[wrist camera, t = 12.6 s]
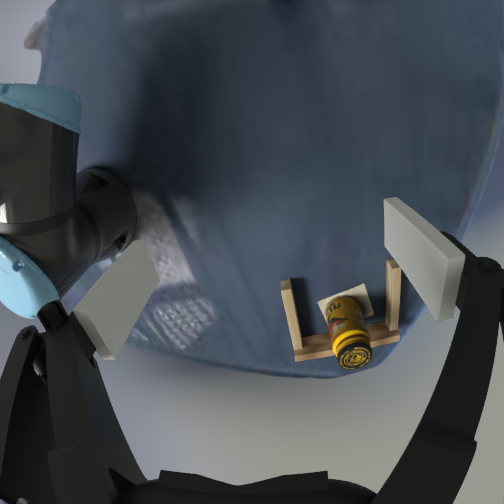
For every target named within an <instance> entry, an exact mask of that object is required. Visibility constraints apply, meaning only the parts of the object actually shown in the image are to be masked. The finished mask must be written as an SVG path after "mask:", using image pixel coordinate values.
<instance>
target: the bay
mask: <svg viewBox="0 0 504 504" xmlns="http://www.w3.org/2000/svg"><path fill="white" fill-rule="evenodd" d="M400 286H401V268H400V266H399V265H398V263H397V262H396V261H395V259H394V258H392V259H388V260H386V318H385V321H382V322H377V323H373V324H368V325H366V326H367V329H368V332H369V334H370V338H371V342H370V345H371V347H376V346H380V345H384V344H388V343H392V342H396V341H399V340H400V334H399V331H398V318H399V305H400ZM281 293H282V298H283V302H284V307H285V311H286V315H287V320H288V324H289V329H290V333H291V338H292V342H293V347H294V356H295V361H296V362H297V361H303V360H310V359H316V358H321V357H327V356H333V355H336V354H335V353H334V352H333V348H332V345H331V339H330V335H329V333H324V334H318V335H312V336H306V337H301V332H300V326H299V321H298V316H297V311H296V306H295V301H294V296H293V291H292V286H291V281H290V278H289V279H284V280H281Z"/></svg>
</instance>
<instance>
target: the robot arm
mask: <svg viewBox="0 0 504 504" xmlns="http://www.w3.org/2000/svg"><path fill="white" fill-rule="evenodd" d="M81 108H82V102H81V98H80V97H79V95H78V94H77V93H76V92H74V91H72V90H70V89H65V88H60V87H54V86H46V85H37V84H17V83H14V84H3V83H1V84H0V301H1V302H2V303H3V304H4V305H5V306H6V307H8V308H9V309H10V310H11V311H13V312H15V313H16V314H18V315H20V316H22V317H24V318H29V319H36V318H39V319H40V321H41V323H42V325H43V326H44V328H45V329H46V332H43V333H39V332H38V330H37V329H36V327H35V326H32V325H31V326H28V327H25V328H24V329H22V330H21V331H20V333H19V334H18V335H17V337H16V339H15V342H14V344H13V346H12V349H11V351H10V354H9V357H8V359H7V362H6V365H5V368H4V371H3V373H2V376H1V379H0V504H453V502H454V500H455V498H456V496H457V494H458V492H459V490H460V488H461V485H462V483H463V481H464V479H465V476H466V474H467V472H468V469H469V467H470V465H471V462H472V459H473V457H474V454H475V451H476V447H477V442H476V441H475V440H474V437H475V433H476V430H477V427H478V424H479V421H480V418H481V414H482V411H483V407H484V403H485V400H486V396H487V392H488V387H489V383H490V378H491V373H492V368H493V363H494V357H495V351H496V345H497V337H498V329H499V322H500V323H501V328H502V334H503V340H504V269H502V268H501V266H500V264H499V263H498V262H497V261H495V260H493V259H490V258H488V257H476V256H475V255H474V254H473V253H472V252H471V251H469V250H468V249H467V248H466V247H465V246H463V244H462V243H460V242H458V240H457V239H456V238H455V237H453V236H452V235H450V234H448V233H446V232H439V231H438V230H437V229H436V228H435V227H433V226H432V225H431V224H430V223H429V222H427V221H426V220H425V219H424V218H422V217H421V216H420V215H419V214H418V213H416V212H415V211H414V210H413V209H411V208H410V207H409V206H407V205H406V204H405V203H404V202H402V201H401V200H400V199H398V198H397V197H394V198H386V199H384V223H385V247H386V249H387V250H388V251H389V253H390V254H391V255H392V257H393V258H394V259H395V261H396V262H397V263H398V265H399V266H400V268H401V269H402V270H403V272H404V273H405V275H406V276H407V278H408V279H409V280H410V282H411V283H412V285H413V286H414V288H415V289H416V291H417V292H418V294H419V295H420V297H421V298H422V300H423V301H424V303H425V304H426V306H427V307H428V309H429V310H430V312H431V314H432V315H433V317H434V318H435V320H436V321H437V322H439V321H443V320H447V319H450V318H453V314H454V311H455V306H457V307H458V309H459V310H460V311H461V312H460V316H459V320H458V323H457V327H456V330H455V333H454V337H453V340H452V343H451V346H450V349H449V352H448V355H447V358H446V361H445V364H444V367H443V369H442V372H441V375H440V377H439V380H438V382H437V385H436V387H435V390H434V392H433V394H432V397H431V399H430V402H429V404H428V406H427V408H426V410H425V412H424V414H423V417H422V419H421V421H420V423H419V425H418V427H417V429H416V431H415V433H414V434H413V436H412V438H411V440H410V442H409V444H408V446H407V447H406V449H405V451H404V453H403V455H402V456H401V458H400V460H399V461H398V463H397V465H396V466H395V468H394V469H393V471H392V473H391V474H390V476H389V478H388V479H387V480H386V482H385V483H384V485H383V486H382V488H381V490H380V491H379V492H378V494H376V493H375V492H373V491H371V490H369V489H368V488H366V487H363V486H361V485H358V484H355V483H351V482H348V481H342V480H336V479H328V472H327V471H321V472H313V473H304V474H292V475H282V476H279V477H275V478H271V479H267V480H263V481H259V482H255V483H251V484H245V485H239V486H237V485H231V484H227V483H224V482H221V481H217V480H213V479H211V478H207V477H204V476H201V475H198V474H190V473H181V472H172V471H165V470H161V471H160V475H159V479H154V480H149V481H148V480H147V479H146V478H145V476H144V475H143V473H142V472H141V470H140V468H139V466H138V464H137V462H136V460H135V458H134V456H133V454H132V452H131V450H130V448H129V445H128V443H127V441H126V439H125V437H124V435H123V432H122V430H121V427H120V425H119V423H118V420H117V418H116V415H115V413H114V410H113V407H112V405H111V402H110V399H109V397H108V394H107V391H106V388H105V385H104V383H103V380H102V377H101V373H100V370H99V367H98V364H97V361H96V360H95V358H94V357H93V354H94V352H95V351H96V350H97V352H98V353H99V355H100V356H101V358H102V359H103V360H116V358H117V356H118V354H119V352H120V350H121V348H122V347H123V345H124V343H125V341H126V339H127V337H128V336H129V334H130V332H131V330H132V328H133V326H134V325H135V323H136V321H137V319H138V317H139V316H140V314H141V312H142V310H143V308H144V307H145V305H146V303H147V301H148V300H149V298H150V296H151V294H152V293H153V291H154V289H155V288H156V286H157V284H158V282H159V281H160V279H159V276H158V274H157V271H156V269H155V266H154V263H153V261H152V258H151V255H150V253H149V250H148V247H147V244H146V242H145V239H140V240H135V241H133V242H132V243H131V244H130V245H129V246H128V247H127V248H126V249H125V250H124V251H123V252H122V253H121V255H120V256H119V257H118V258H117V259H116V260H115V261H114V262H113V263H112V265H111V266H110V267H109V268H108V269H107V270H106V271H105V272H104V274H103V275H102V276H101V277H100V278H99V279H98V280H97V282H96V283H95V284H94V285H93V286H92V287H91V289H90V290H89V291H88V292H87V293H86V295H85V296H84V297H83V298H82V299H81V301H80V302H79V303H78V304H77V306H76V307H75V308H74V309H73V311H72V312H71V314H70V315H69V316H68V315H67V313H66V311H65V309H64V308H63V306H62V304H61V302H60V299H61V298H62V297H63V296H64V295H65V293H66V292H67V291H68V290H69V289H70V288H71V287H72V286H73V285H74V283H75V282H76V281H77V280H78V279H79V278H80V277H81V276H82V275H83V274H84V273H85V272H86V271H87V269H88V268H89V267H90V266H91V265H92V264H94V263H97V262H100V261H103V260H106V259H109V258H112V257H114V256H115V255H117V254H119V253H120V252H121V251H122V250H123V249H124V248H125V247H126V246H127V245H128V244H129V242H130V241H131V239H132V237H133V235H134V232H135V228H136V209H135V205H134V202H133V199H132V196H131V194H130V192H129V191H128V189H127V188H126V186H125V185H124V184H123V182H122V181H121V180H120V179H119V178H117V177H116V176H115V175H113V174H112V173H110V172H108V171H106V170H103V169H98V168H90V169H86V170H83V171H81V172H78V173H76V168H77V155H78V144H79V135H80V134H81V129H80V119H81ZM34 367H35V369H36V370H37V371H38V373H39V375H37V373H36V372H35V370H34Z"/></svg>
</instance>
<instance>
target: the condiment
mask: <svg viewBox="0 0 504 504" xmlns="http://www.w3.org/2000/svg"><path fill="white" fill-rule="evenodd" d="M354 296H355V297H354ZM317 303H318V305H319V307H320V309H321V311H322V313H323V315H324V317H325V320H326V322H327V325H328V330H329V335H330V339H331V345H332V348H333V352H334V353H335V354H336V357H337V362H338V364H339V365H340V366H341V367H342V368H344V369H350V370H352V369H358V368H361V367H363V366H365V365H366V364H367V363H368V362H369V360H370V359H371V357H372V349H371V345H370V342H371V338H370V334H369V332H368V329H367V326H366V323H365V320H364V318H366V317H369V316H371V315H374V312H373V309H372V306H371V303H370V300H369V297H368V294H367V290H366V287H365V284H364V283H363V284H361V285H359V286H356V287H354V288H352V289H349V290H347V291H344V292H341V293H338V294H336V295H334V296H331V297H328V298H326V299H323V300H321V301H319V302H317Z"/></svg>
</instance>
